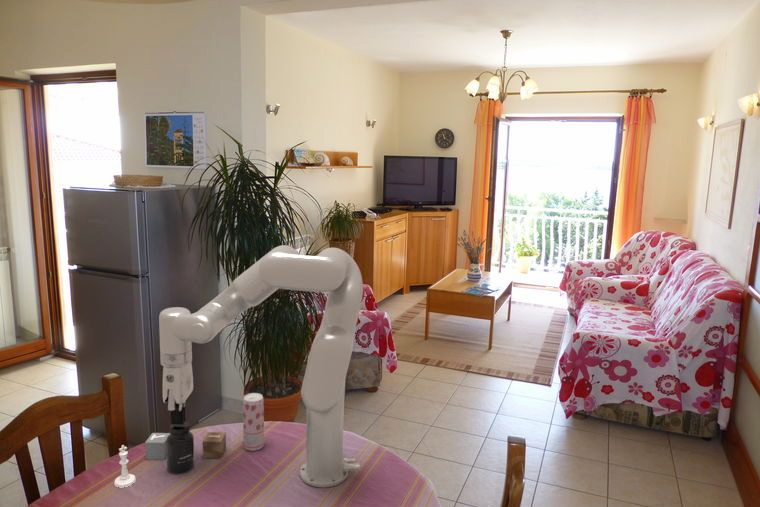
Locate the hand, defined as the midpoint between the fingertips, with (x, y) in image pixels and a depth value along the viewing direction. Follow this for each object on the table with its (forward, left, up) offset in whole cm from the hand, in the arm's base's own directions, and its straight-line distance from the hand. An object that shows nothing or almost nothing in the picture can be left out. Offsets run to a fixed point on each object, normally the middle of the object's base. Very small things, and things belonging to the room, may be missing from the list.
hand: (178, 422), depth 143 cm
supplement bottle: (0, 0, -13) cm, 13 cm away
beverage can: (-17, -11, -13) cm, 24 cm away
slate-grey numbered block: (+8, -6, -13) cm, 16 cm away
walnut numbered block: (-7, -7, -13) cm, 16 cm away
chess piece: (+11, +7, -13) cm, 19 cm away
